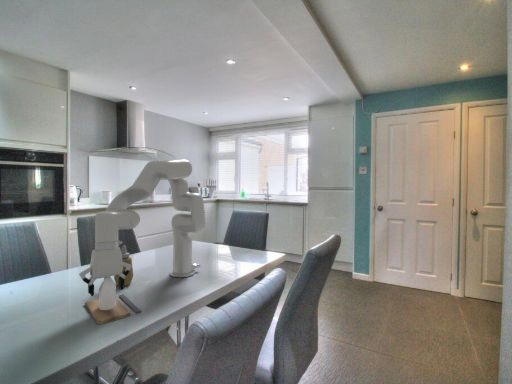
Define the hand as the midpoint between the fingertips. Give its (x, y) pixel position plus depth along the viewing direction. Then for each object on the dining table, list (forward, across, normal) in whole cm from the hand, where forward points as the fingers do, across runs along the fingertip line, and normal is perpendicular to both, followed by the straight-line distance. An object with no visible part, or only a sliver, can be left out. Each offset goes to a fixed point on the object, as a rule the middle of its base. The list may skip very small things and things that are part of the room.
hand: (106, 291), depth 103 cm
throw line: (+7, -8, 0) cm, 10 cm away
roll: (+6, 0, 0) cm, 6 cm away
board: (+7, 0, 0) cm, 7 cm away
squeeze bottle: (+7, -13, -23) cm, 27 cm away
